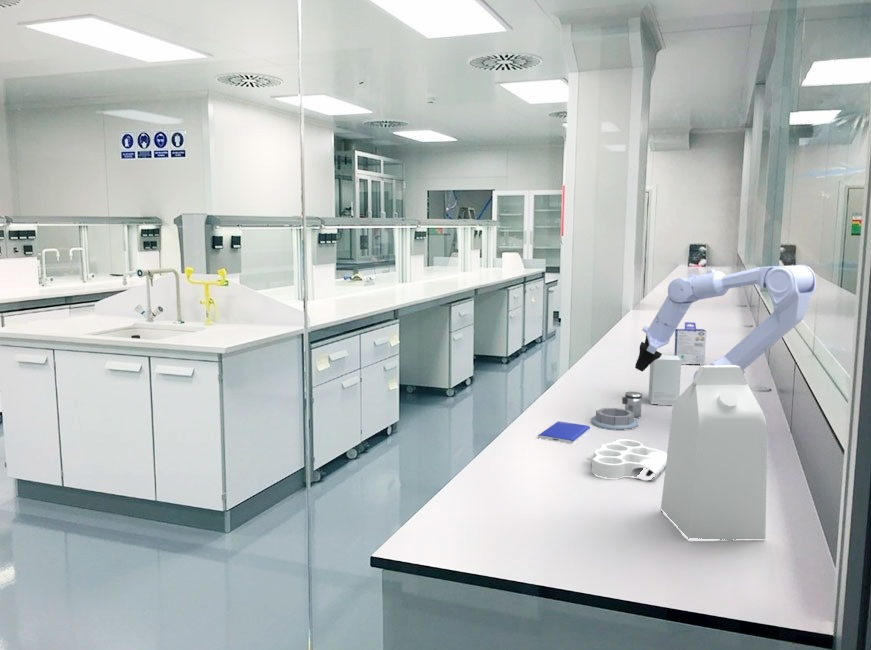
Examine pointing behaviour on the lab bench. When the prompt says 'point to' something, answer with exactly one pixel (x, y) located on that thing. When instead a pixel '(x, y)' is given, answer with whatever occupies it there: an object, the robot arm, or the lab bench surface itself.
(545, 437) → the hard drive
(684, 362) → the ink cartridge box
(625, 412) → the collar
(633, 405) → the silver metal canister
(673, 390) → the supplement box
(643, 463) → the white holed flat tray
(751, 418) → the milk
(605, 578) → the lab bench surface
